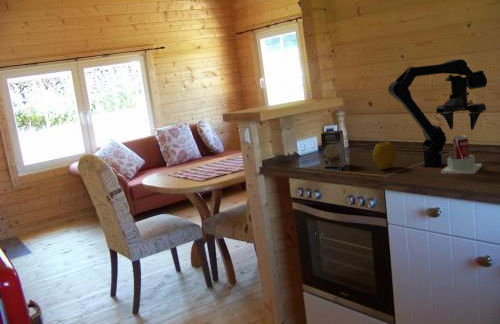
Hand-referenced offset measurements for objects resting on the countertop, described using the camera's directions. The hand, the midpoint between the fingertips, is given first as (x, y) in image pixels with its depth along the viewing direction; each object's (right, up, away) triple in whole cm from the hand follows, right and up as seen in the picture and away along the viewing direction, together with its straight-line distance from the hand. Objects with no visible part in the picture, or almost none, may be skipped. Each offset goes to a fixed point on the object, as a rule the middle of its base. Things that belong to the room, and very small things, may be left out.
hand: (461, 129), depth 211 cm
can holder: (-5, -16, -12) cm, 21 cm away
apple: (-29, -16, +8) cm, 34 cm away
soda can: (-5, -16, -13) cm, 21 cm away
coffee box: (-47, -15, +27) cm, 56 cm away
